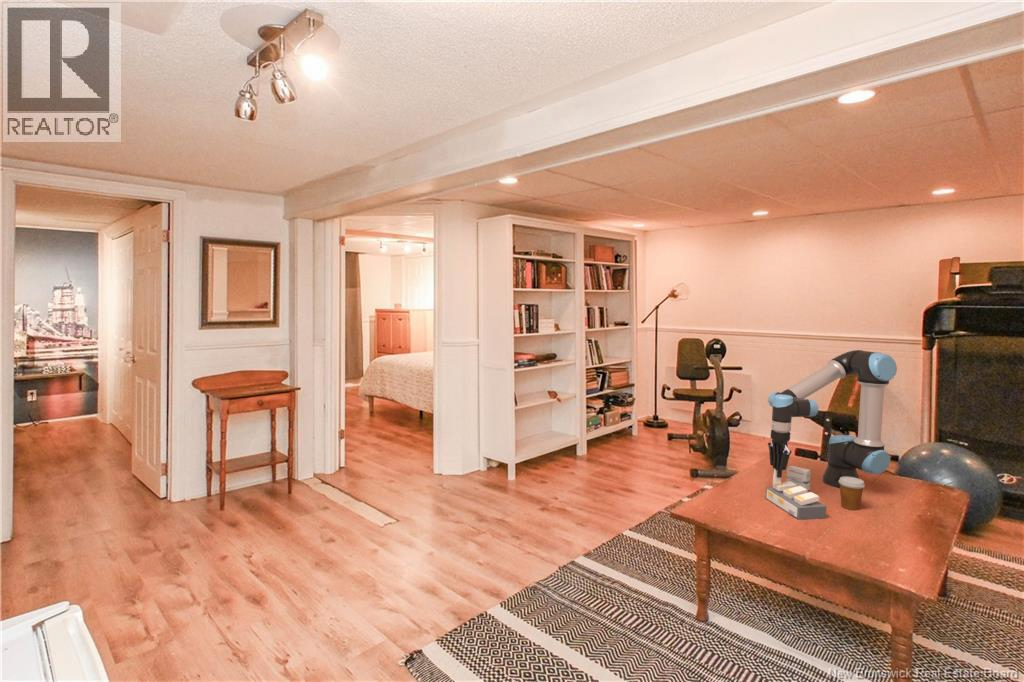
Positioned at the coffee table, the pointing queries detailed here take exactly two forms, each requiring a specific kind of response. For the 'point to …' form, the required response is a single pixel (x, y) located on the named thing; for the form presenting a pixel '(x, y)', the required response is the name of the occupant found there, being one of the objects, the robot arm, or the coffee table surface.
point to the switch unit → (796, 506)
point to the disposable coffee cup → (851, 492)
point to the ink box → (799, 476)
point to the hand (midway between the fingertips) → (776, 483)
